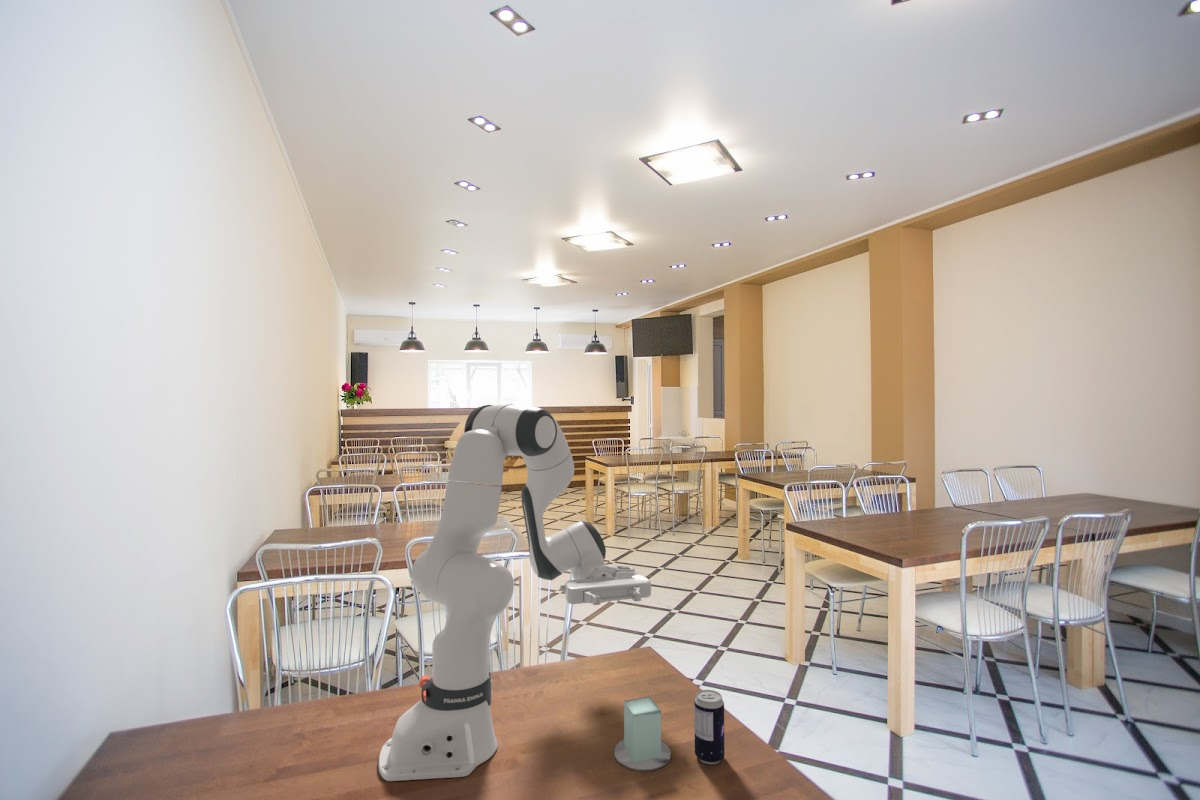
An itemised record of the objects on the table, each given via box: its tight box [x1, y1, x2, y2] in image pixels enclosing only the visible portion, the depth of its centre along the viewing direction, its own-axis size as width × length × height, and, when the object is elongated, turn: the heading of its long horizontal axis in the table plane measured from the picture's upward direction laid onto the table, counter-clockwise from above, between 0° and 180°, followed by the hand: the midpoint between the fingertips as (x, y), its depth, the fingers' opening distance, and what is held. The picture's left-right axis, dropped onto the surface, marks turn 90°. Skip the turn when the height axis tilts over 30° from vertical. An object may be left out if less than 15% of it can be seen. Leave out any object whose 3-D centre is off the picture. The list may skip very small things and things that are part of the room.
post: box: [613, 739, 672, 772], centre depth 116 cm, size 11×11×8 cm
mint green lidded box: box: [623, 696, 662, 762], centre depth 116 cm, size 6×6×9 cm
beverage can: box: [693, 689, 726, 765], centre depth 115 cm, size 6×6×12 cm
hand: (617, 599), depth 131 cm, fingers open, 8 cm apart
